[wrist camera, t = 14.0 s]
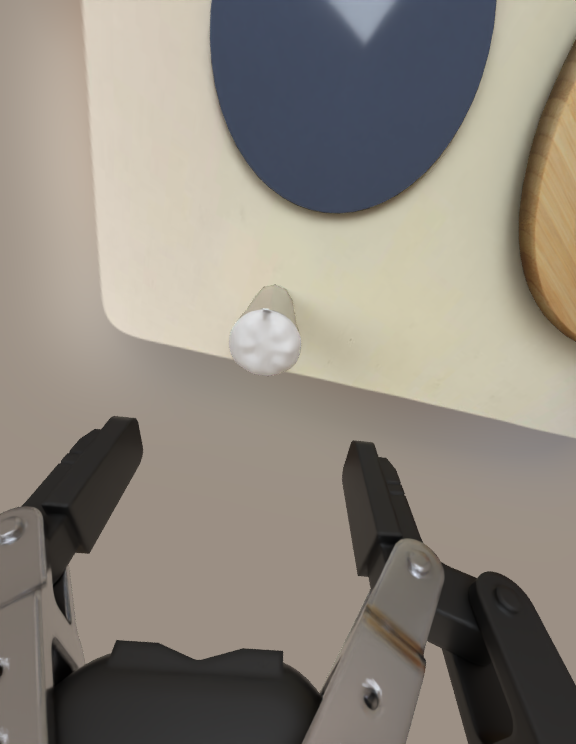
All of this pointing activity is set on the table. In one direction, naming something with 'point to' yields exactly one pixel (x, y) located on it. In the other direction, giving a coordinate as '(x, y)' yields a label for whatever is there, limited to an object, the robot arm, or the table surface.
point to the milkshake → (266, 334)
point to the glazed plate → (346, 90)
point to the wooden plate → (552, 206)
